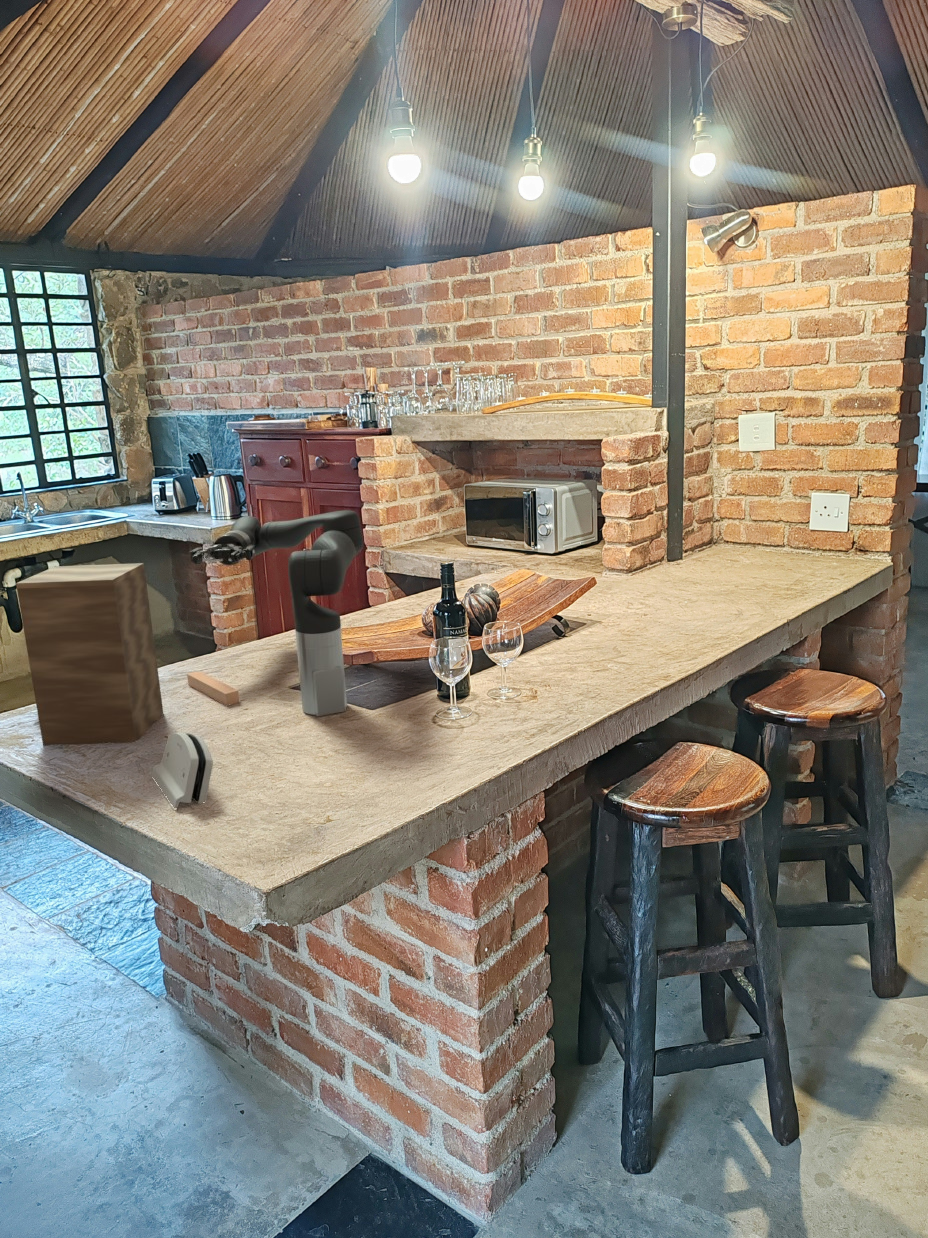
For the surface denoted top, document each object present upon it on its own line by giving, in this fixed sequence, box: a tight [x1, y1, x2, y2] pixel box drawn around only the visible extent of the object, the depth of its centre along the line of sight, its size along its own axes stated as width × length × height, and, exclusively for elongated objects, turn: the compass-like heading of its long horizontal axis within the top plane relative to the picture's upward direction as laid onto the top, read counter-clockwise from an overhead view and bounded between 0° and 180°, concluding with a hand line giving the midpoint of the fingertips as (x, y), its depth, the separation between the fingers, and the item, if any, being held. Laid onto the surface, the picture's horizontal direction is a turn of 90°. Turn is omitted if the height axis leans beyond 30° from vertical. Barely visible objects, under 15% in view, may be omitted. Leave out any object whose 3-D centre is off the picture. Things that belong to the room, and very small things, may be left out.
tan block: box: [186, 670, 240, 706], centre depth 201 cm, size 20×3×3 cm, turn 40°
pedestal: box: [15, 562, 164, 746], centre depth 178 cm, size 16×18×32 cm
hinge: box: [151, 732, 214, 808], centre depth 153 cm, size 17×5×10 cm, turn 31°
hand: (214, 559), depth 207 cm, fingers open, 8 cm apart
